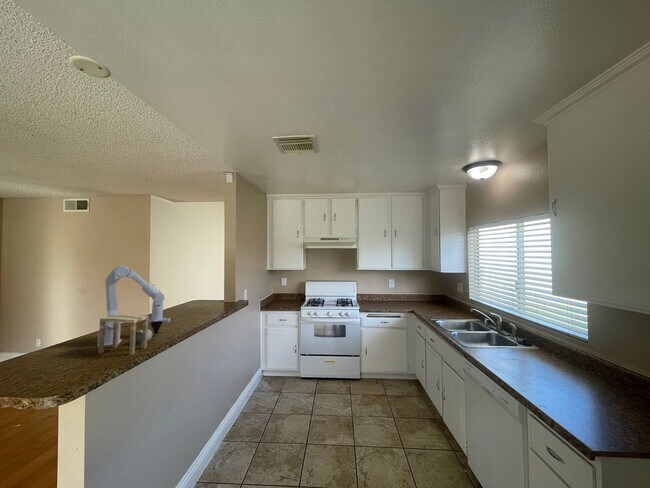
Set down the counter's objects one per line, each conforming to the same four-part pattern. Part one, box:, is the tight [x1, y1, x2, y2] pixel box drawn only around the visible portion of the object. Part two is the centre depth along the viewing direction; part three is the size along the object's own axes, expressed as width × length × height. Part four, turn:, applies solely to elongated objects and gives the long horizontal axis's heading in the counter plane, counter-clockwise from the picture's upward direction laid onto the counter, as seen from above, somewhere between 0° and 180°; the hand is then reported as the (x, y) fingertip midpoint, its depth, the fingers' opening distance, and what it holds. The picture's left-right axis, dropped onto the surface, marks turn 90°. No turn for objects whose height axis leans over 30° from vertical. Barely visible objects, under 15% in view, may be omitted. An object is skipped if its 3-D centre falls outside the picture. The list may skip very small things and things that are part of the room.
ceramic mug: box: [128, 328, 153, 346], centre depth 146 cm, size 11×8×8 cm
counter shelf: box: [97, 313, 149, 356], centre depth 134 cm, size 10×18×18 cm, turn 88°
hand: (156, 333), depth 158 cm, fingers closed
